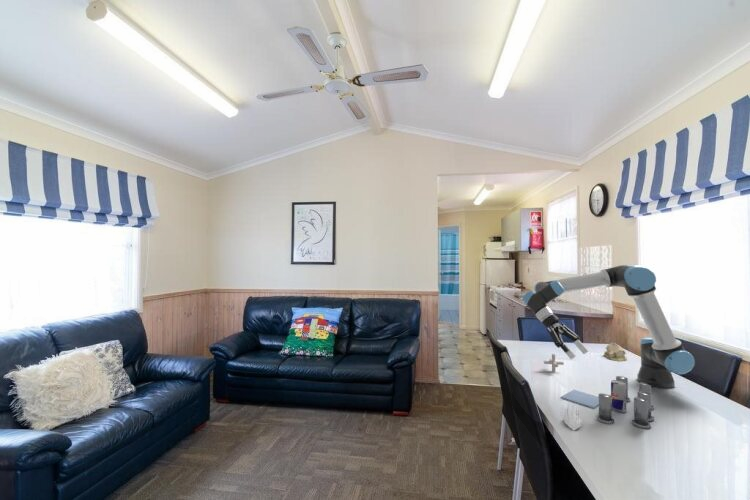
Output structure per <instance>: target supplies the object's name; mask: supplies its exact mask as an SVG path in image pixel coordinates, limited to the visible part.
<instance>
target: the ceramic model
mask: <svg viewBox="0 0 750 500" xmlns="http://www.w3.org/2000/svg"><path fill="white" fill-rule="evenodd" d="M605 350H606V351H604V357H606V358H607V359H609V360H612V361H615V362H625V361H628V357H626V355H627V353H626V351H625V350H624V348H623V347H622V346H620V345H619V344H617V342H610V343H609V344H607V346H606V348H605Z"/></svg>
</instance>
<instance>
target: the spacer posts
mask: <svg viewBox="0 0 750 500" xmlns="http://www.w3.org/2000/svg"><path fill="white" fill-rule="evenodd" d="M628 379H629V378H628V377H626V376H624V375H623V376H622V375H616V376H615V380H618V381H622V382H624V383H625V384H626V403H630V402H631V398H630V397H629V392H628V391H629V389H628V388H629V382H628ZM637 385H638V391H637V393H636V394H637V396H634V397H633V417H634V418H633V419H632V420H631V425H633V426H635V427H636V428H639V429H645V430H650V429H652V424H651V423H652V422H654V421H655V418H654V416H653V415H652V411H654V410H655V407H654V405H652V386H651V385H650V384H648V383H642V382H640V381H639V382H638V384H637ZM598 397H599V406H598V415H596V421H598V422H600V423H601V424H606V425H614V424H615V419H614V418H613V410H612V397H611V394H607V393H599V394H598Z"/></svg>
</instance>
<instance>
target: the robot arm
mask: <svg viewBox="0 0 750 500" xmlns="http://www.w3.org/2000/svg"><path fill="white" fill-rule="evenodd" d="M656 282H657V277H656V274H655V273H654V271H653V270H651V269H650V268H648V267H647V266H643V265H638V264H637V265H636V264H635V265H631V264H630V265H628V264H622V265H617V266H613V267H612V266H611V267H608V268H604V269H601V270H600V271H598V272H593V273H588V274H582V275H577V276H572V277H567V278H566V277H565V278H559V279H555V280H549V281H539V282H537V283H536V284H535V285H534V290H529V291H527V292H526V293H524V295H523V296H522V298H521V299H522V301H523V302H524V304H525V305H526V306H527V308H528V309H529V310H530V311H531V313H533V314H534V316H535V317H536V319H538V320H539V321H540V322H541V324H542V325H543V326H544V327H545V328H546V331H547V332H548V334H549V335H550V338H551V339H552V342H553V344H554V345H555V346H556V347H557V348H558V349H560V348H561V349H562V351H563V352H564V354H565V355H566V356H567V357H568V358H569V359H570V360H573V359H574V358H575V357H577V355H576V354H575V353H574V351H572V350H571V348H570V347H569V346H568V345H567V344H566V343H565V342H564V340H563V336H564V337H566V338H567V339H569V340H571V342H573V344H574V345H575V346H576V348H578V349H579V351H580V352H581V353H582V354H583V355H585V354H587V353H588V352H589V349H587V347H586V346H585V344H583V343H582V342H581V341H580V336H579V335H578V334H576V333H575V332H574V331H573V330H572V329H571V328H569V327H567V326H566V325H565V323H563V322H562V323H559V321H560V319H559V317H558V316H557V315H556V314H554V312H553V310H551V308H550V307H549V306H548V305H547V304H549V303H550V302H552V301H554V300H555V299H557V298H558V297H560V296H561V295H563V294H564V293H571V292H575V291H576V292H577V291H581V290H582V291H583V290H587V289H594V288H599V287H605V288H610V287H622V288H624V289H625V291H626V293H627V296H629V297H630V298H633V300H634V303H635V305H636V308H637V309H638V311H639V313H640V316H641V318H642V320H643V322H644V325H645V326H646V329H647V331H648V333H649V335H650V337H643V338H641V339H640V367H639V370H638V372H637V375H636V377H637V378H636V380H637V381H638V382H639V383H640V382H642V383H648V384H650V385H651V387H656V388H663V389H670V388H671V389H672V388H675V386H676V385H675V384H676V382H675V380H674V377H673V374H676V375H685V374H687V373H689V372H691V371H692V370H693V368H694V367H695V362H696V360H695V357H694V356H693V355H692V353H690V352H689V351H687V350H686V349H685V347H684V344H683V343H682V341H681V340H679V339H677V338H675V337H676V336H675V335H674V333H673V331H672V329H671V327H670V324H669V322H668V320H667V318H666V316H665V314H664V312H663V310H662V307H661V305H660V303H659V300H658V299H657V296H656V294H655V291H656V290H657V287H656V286H655V285H656ZM672 373H673V374H672Z"/></svg>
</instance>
